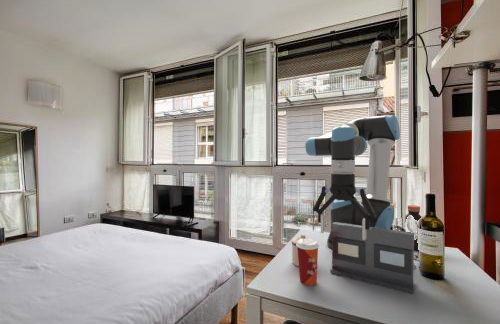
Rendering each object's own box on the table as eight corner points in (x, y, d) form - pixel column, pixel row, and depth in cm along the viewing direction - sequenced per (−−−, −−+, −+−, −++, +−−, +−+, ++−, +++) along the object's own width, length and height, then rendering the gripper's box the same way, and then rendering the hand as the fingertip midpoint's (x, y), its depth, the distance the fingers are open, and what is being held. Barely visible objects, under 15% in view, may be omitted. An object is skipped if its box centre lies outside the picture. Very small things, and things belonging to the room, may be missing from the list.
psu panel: (336, 265, 101) (336, 220, 101) (413, 283, 86) (414, 231, 86) (330, 272, 94) (330, 225, 94) (412, 293, 80) (413, 237, 79)
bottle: (425, 250, 117) (426, 207, 116) (413, 251, 115) (414, 207, 115) (413, 245, 123) (413, 204, 123) (401, 246, 122) (401, 205, 121)
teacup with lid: (310, 269, 97) (310, 239, 97) (288, 264, 102) (288, 236, 102) (319, 259, 107) (319, 231, 107) (298, 254, 112) (298, 228, 112)
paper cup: (315, 289, 83) (314, 247, 82) (293, 283, 87) (292, 243, 86) (322, 279, 89) (321, 240, 89) (301, 273, 93) (301, 236, 93)
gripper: (303, 172, 89) (303, 232, 90) (382, 175, 75) (382, 245, 76) (311, 171, 95) (311, 227, 96) (385, 173, 81) (385, 238, 82)
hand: (342, 235), depth 86 cm, fingers open, 13 cm apart
